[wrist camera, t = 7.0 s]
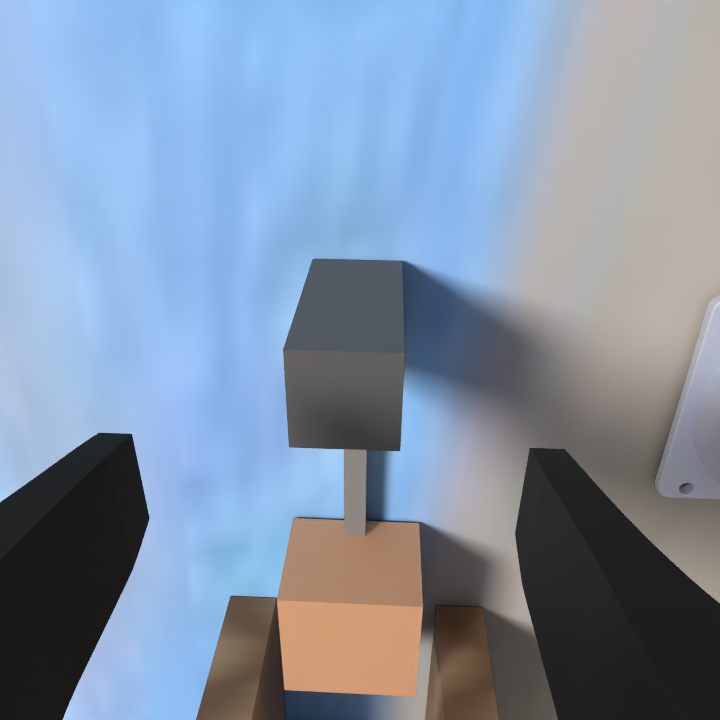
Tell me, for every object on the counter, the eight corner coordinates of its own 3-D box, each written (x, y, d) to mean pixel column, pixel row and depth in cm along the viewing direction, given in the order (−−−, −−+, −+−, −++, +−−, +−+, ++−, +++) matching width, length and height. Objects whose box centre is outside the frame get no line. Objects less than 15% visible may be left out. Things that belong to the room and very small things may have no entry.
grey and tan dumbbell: (437, 261, 20) (453, 354, 14) (412, 608, 27) (417, 750, 22) (277, 257, 20) (235, 348, 15) (298, 603, 28) (275, 743, 22)
